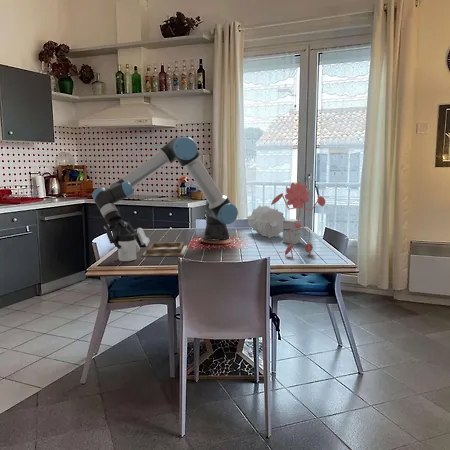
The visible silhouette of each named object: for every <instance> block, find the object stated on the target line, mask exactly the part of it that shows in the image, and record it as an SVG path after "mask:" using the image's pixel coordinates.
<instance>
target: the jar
mask: <svg viewBox="0 0 450 450" xmlns="http://www.w3.org/2000/svg"><path fill="white" fill-rule="evenodd" d="M117 238H118V244H119V245H120V246H121V245H122V246H123V247H124V248H125V250H126V253H125V254H124V255H122V253H121V248H120V249H118V248H117V253H118V260H119V262H131V261H135V260H137V251H136V242H135V234H134V233H124V232H121V233H118V235H117Z"/></svg>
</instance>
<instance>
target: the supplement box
mask: <svg viewBox="0 0 450 450" xmlns="http://www.w3.org/2000/svg"><path fill="white" fill-rule="evenodd" d="M285 219H286V218H285ZM297 222H299V223H300V224H301V225H302V220H301V219H299V221H298V219H296V218H295V219H294V218H288V219H286V220H283V232H282V243H286V244H289V245H296V244H299V243H301V240H302V238H301V237H302V230H301V229H302V227H300V228H296V227H295V224H296V223H297ZM294 227H295V228H294ZM293 228H294V229H293ZM292 229H293V230H292ZM291 230H292V231H291ZM290 231H291V232H290ZM289 232H290V239H289Z"/></svg>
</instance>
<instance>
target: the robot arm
mask: <svg viewBox="0 0 450 450" xmlns="http://www.w3.org/2000/svg"><path fill="white" fill-rule="evenodd" d="M158 149H159V148H158ZM200 158H201V154H200V152H199V151H198V145H197V143H196V141H195V140H194V139H192V138H191V137H189V136H179V137H174V138H173V139H171V140H170V141H168V142H167V143H166V144H165V145H164V146H162V147H160V149H159V150H158V152H157V153H156V154H154V155H153V156H151V157H150V158H148V159H147V160H145V161H144V162H143V163H141V164H140V165H138V166H136V168H134V169H133V170H131V171H130V172H128V173H127V174H126V175H124V176H123V177H122V178H120V179H118V180H117V181H116V182H113V183H112V184H111V183H110V186H109V188H108V189H106V188H105V187H102V186H101V187H98V188H96V189H94V190H93V191H92V194H91V195H92V198H93V200H94V203H95V205H96V206H97V208H98V210H99V211H100V213H101V215H102V217H103V218H104V221H105V224H104V226H103V229H104V231H105V233H106V235H107V237H108V240H109V243H110V244H111V245H112V244H113V245H114V246H116V248H117V250H118V249H120V248H121V253H122V255H124V254H125V253H126V250H125V248H124V247H123V246H122V245H121V246H120V245H119V244H118V238H117V235H118V234H119V233H118V231H119V232H121V233H134V234H135V242H136V253H139V252H140V250H141V246H139V245H138V244H139V243H138V241H137V237H138V234H137V233H136V231H135V229H134V227H133V226H132V224H131V221H129V220H127V221H124V220H123V219H122V216H121V214H120V212H119V209H118V208H117V207H116V205H115V204H116V203H117V202H120V201H122V200H125V199H127V198H129V197H130V196H131V197H132V196H133V195H134V194H135V191H134V188H135V187H136V186H138V185H139V184H141V183H142V182H144V181H145V180H146V179H147V178H149V177H151V175H153V174H154V173H156V172H158V171H159V170H160V169H162V168H163V167H164V166H166V165H171V164H172V163H173V162H175V161H178V163H179V165H180V166H181V167H182V168H185V169H186V170H187V172H188V173H189V174H190V176H191V178H192V179H193V181H194V182H195V184H196V185H197V187H198V188H199V190H200V192H202V194H203V196H204V197H205V199H206V201H205V223H206V225H205V228H204V232H203V239H204V240H208V239H223V240H227V238H228V239H230V233H229V229H228V226H227V225H230V224H232V223H235V221H236V220H237V218H238V215H239V211H238V210H239V209H238V208H237V206H236V205H235V204H233V203H232V202H231V200H230V199H229V198H228V197H227V195H225V194H224V195H223V194H222V192H221V190H220V189H219V187H218V185H217V184H216V182H215V181H214V180H213V178H212V176H211V175H210V173H209V172H208V170H207V169H206V167H205V165H204V164H203V162H202V161H201V159H200Z"/></svg>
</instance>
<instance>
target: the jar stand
mask: <svg viewBox="0 0 450 450" xmlns="http://www.w3.org/2000/svg"><path fill="white" fill-rule="evenodd" d="M187 249H188V245H185V242H184V241H182V242H181V241H178V242H177V241H175V242H174V241H173V242H169V241H168V242H151V243H150V244H149V246H147V248H146V249H145V251H144V252H143V253H142V257H155V256H156V257H163V256H164V257H166V256H167V257H168V256H180V257H181V256H185V253H186V251H187Z"/></svg>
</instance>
